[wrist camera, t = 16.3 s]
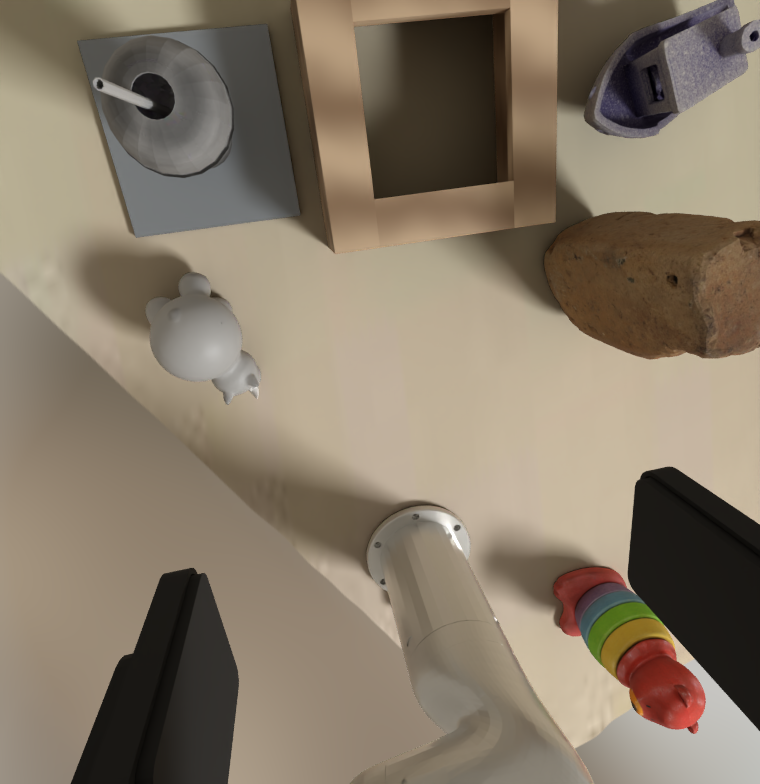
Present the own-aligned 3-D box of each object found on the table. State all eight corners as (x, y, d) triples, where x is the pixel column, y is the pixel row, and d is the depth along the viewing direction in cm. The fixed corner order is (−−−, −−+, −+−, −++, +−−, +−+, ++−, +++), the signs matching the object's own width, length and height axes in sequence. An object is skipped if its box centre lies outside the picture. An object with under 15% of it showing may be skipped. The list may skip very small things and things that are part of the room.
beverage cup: (265, 166, 40) (243, 128, 22) (185, 200, 40) (96, 192, 22) (222, 70, 38) (155, -64, 19) (137, 107, 38) (-13, 7, 19)
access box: (513, 220, 46) (555, 222, 39) (328, 246, 44) (335, 254, 37) (509, -10, 40) (558, -61, 32) (290, 8, 37) (290, -41, 30)
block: (532, 236, 47) (687, 253, 29) (601, 205, 47) (800, 201, 29) (558, 334, 51) (707, 404, 33) (621, 305, 51) (806, 359, 33)
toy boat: (697, -7, 42) (845, -86, 30) (715, 88, 45) (855, 51, 33) (538, 84, 43) (618, 44, 31) (566, 169, 46) (647, 163, 34)
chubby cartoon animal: (219, 384, 50) (227, 441, 44) (130, 300, 41) (126, 357, 35) (277, 348, 49) (294, 401, 43) (200, 256, 41) (208, 306, 35)
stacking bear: (549, 578, 63) (640, 706, 47) (620, 552, 64) (733, 670, 48) (560, 634, 68) (646, 770, 51) (626, 609, 68) (732, 736, 52)
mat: (300, 215, 43) (300, 215, 42) (138, 237, 41) (135, 237, 41) (267, 26, 38) (267, 23, 37) (80, 43, 36) (76, 40, 36)
